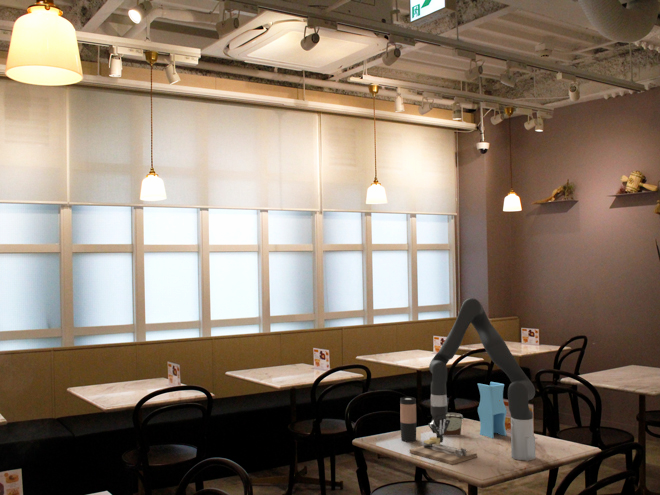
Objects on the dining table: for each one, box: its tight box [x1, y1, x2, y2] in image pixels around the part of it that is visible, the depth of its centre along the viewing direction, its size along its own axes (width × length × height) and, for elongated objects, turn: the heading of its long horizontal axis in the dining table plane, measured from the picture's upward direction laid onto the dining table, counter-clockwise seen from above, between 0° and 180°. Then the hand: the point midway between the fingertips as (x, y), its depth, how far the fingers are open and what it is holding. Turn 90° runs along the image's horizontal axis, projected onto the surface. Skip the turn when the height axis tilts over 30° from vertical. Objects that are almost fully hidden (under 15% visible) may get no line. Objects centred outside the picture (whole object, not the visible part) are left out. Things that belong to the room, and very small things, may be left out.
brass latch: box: [423, 436, 441, 444], centre depth 295 cm, size 4×7×4 cm, turn 130°
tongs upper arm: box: [423, 442, 463, 453], centre depth 289 cm, size 20×2×1 cm, turn 40°
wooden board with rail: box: [409, 444, 478, 465], centre depth 289 cm, size 24×17×4 cm
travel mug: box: [399, 396, 417, 443], centre depth 316 cm, size 8×8×20 cm
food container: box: [443, 412, 464, 437], centre depth 327 cm, size 12×6×10 cm, turn 84°
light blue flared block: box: [477, 381, 508, 439], centre depth 325 cm, size 10×10×25 cm
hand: (439, 442), depth 299 cm, fingers closed
